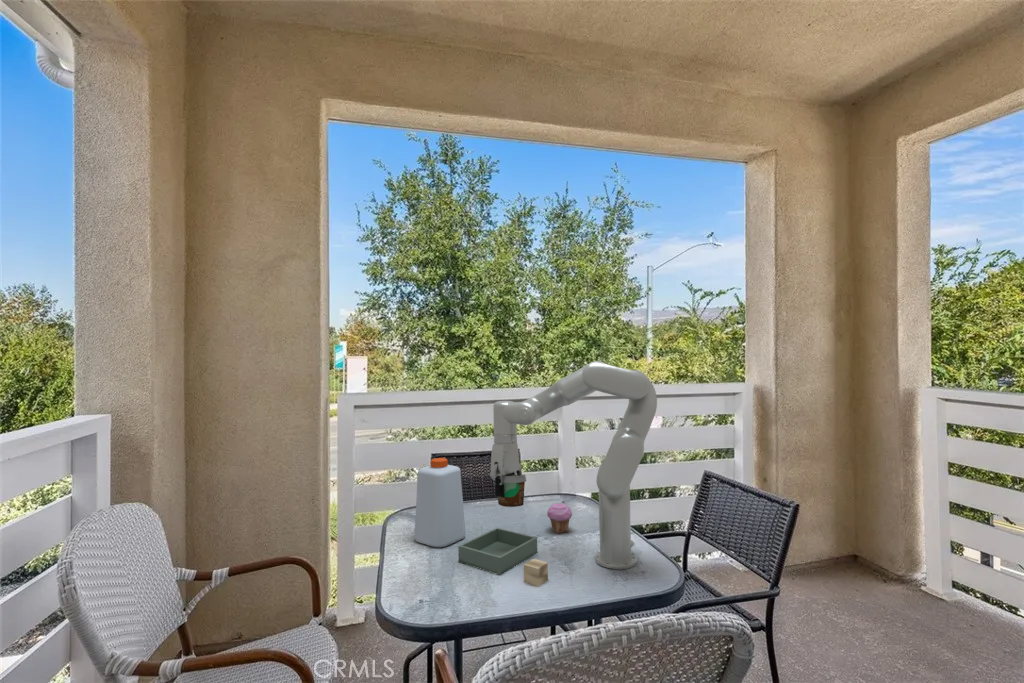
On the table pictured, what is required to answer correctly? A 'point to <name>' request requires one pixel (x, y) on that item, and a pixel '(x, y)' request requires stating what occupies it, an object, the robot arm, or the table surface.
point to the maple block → (535, 572)
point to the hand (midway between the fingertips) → (506, 493)
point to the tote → (497, 550)
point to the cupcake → (559, 517)
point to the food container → (513, 491)
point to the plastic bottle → (439, 505)
